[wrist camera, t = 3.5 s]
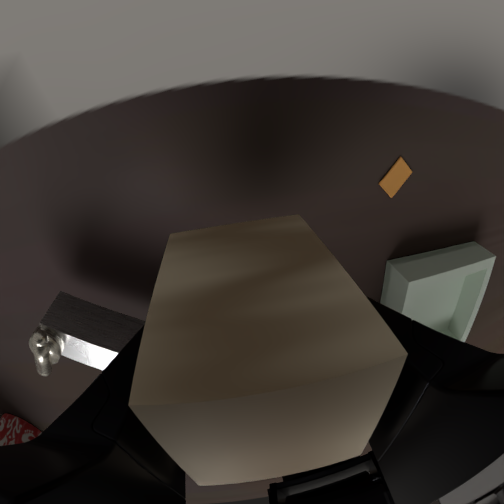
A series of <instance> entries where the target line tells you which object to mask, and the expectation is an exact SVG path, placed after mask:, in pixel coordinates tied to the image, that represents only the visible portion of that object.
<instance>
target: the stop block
mask: <svg viewBox="0 0 504 504" xmlns="http://www.w3.org/2000/svg"><path fill="white" fill-rule="evenodd" d="M407 355H408V353H407V352H406V350H405V349H404V347H403V346H402V345H401V343H400V342H399V340H398V339H397V338H396V336H395V335H394V334H393V332H392V331H391V329H390V328H389V327H388V325H387V324H386V323H385V321H384V320H383V319H382V317H381V316H380V315H379V313H378V312H377V311H376V309H375V308H374V307H373V305H372V304H371V303H370V301H369V300H368V299H367V297H366V296H365V295H364V293H363V292H362V291H361V290H360V288H359V287H358V286H357V284H356V283H355V282H354V281H353V279H352V278H351V277H350V276H349V274H348V273H347V272H346V271H345V269H344V268H343V267H342V266H341V264H340V263H339V262H338V261H337V259H336V258H335V257H334V256H333V254H332V253H331V252H330V251H329V250H328V248H327V247H326V246H325V245H324V244H323V242H322V241H321V240H320V239H319V238H318V236H317V235H316V234H315V233H314V232H313V230H312V229H311V228H310V227H309V226H308V225H307V223H306V222H305V221H304V220H303V219H302V218H301V216H300V215H299V214H298V215H290V216H283V217H276V218H269V219H262V220H255V221H248V222H241V223H235V224H228V225H221V226H215V227H209V228H202V229H196V230H190V231H184V232H178V233H172V234H170V236H169V239H168V243H167V246H166V249H165V252H164V256H163V259H162V262H161V266H160V269H159V273H158V276H157V280H156V284H155V287H154V291H153V295H152V298H151V302H150V306H149V310H148V314H147V318H146V322H145V326H144V331H143V335H142V339H141V344H140V348H139V353H138V357H137V362H136V367H135V372H134V377H133V382H132V388H131V393H130V399H129V404H128V406H129V407H130V408H131V410H132V411H133V412H134V414H135V415H136V416H137V417H138V419H139V420H140V421H141V423H142V424H143V425H144V426H145V428H146V429H147V430H148V431H149V432H150V434H151V435H152V436H153V437H154V438H155V440H156V441H157V442H158V443H159V444H160V445H161V447H162V448H163V449H164V450H165V451H166V452H167V453H168V454H169V455H170V457H171V458H172V459H173V460H174V461H175V462H176V463H177V464H178V465H179V466H180V467H181V468H182V469H183V470H184V471H185V472H186V473H187V474H188V475H189V476H190V477H191V478H192V479H193V480H194V481H195V482H196V483H197V484H198V485H199V486H205V485H221V484H232V483H242V482H250V481H257V480H263V479H270V478H275V477H281V476H286V475H291V474H295V473H300V472H304V471H308V470H312V469H316V468H320V467H324V466H327V465H331V464H334V463H338V462H341V461H344V460H347V459H350V458H353V457H356V456H359V455H361V453H362V451H363V450H364V448H365V446H366V444H367V443H368V441H369V439H370V437H371V435H372V433H373V431H374V430H375V428H376V426H377V424H378V422H379V420H380V418H381V416H382V414H383V412H384V409H385V407H386V405H387V403H388V401H389V399H390V396H391V394H392V392H393V390H394V387H395V385H396V383H397V380H398V378H399V375H400V373H401V370H402V368H403V365H404V363H405V360H406V357H407Z"/></svg>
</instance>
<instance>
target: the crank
mask: <svg viewBox="0 0 504 504" xmlns="http://www.w3.org/2000/svg"><path fill="white" fill-rule="evenodd" d="M145 322H146V321H144V320H141V319H138V318H134V317H131V316H128V315H125V314H122V313H119V312H116V311H113V310H110V309H107V308H105V307H102V306H99V305H96V304H93V303H91V302H88V301H85V300H83V299H80V298H77V297H75V296H72V295H70V294H67V293H65V292H62V291H60V292H59V294H58V295H57V297H56V298H55V300H54V301H53V303H52V304H51V306H50V307H49V309H48V310H47V312H46V314H45V315H44V317H43V318H42V320H41V322H40V326H38V327H37V328H36V330H35V331H34V332H33V334H32V337H31V338H30V340H29V347H30V349H31V351H32V352H33V353H34V358H35V364H36V369H37V371H38V373H39V374H40V375H42V376H48V375H50V373H51V371H52V367H51V364H55V363H57V362H58V360H59V358H60V356H61V355H63V356H65V357H68V358H70V359H73V360H75V361H78V362H81V363H83V364H86V365H89V366H92V367H95V368H97V369H100V370H104V369H105V368H106V367H107V366H108V364H109V363H110V362H111V361H112V360H113V359H114V358H115V357H116V355H117V354H118V353H119V352H120V351H121V350H122V349H123V348H124V346H125V345H126V344H127V343H128V342H129V341H130V340H131V339H132V338H133V336H134V335H135V334H136V333H137V332H138V331H139V330H140V329H141V328H142V326H143V325H144V324H145Z"/></svg>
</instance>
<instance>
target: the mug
mask: <svg viewBox="0 0 504 504" xmlns="http://www.w3.org/2000/svg"><path fill="white" fill-rule="evenodd" d="M41 433H42V432H41V431H40V430H39V429H37V428H36V427H34V426H33V425H31V424H30V423H28V422H27V421H25V420H23V419H21V418H19V417H17V416H14V415H12V414H7V413H5V414H3V415H2V417H1V419H0V446H4V445H12V444H19V443H24V442H27V441H30V440H32V439H34V438H36V437H37V436H39V435H40V434H41Z"/></svg>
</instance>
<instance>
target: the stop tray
mask: <svg viewBox="0 0 504 504" xmlns="http://www.w3.org/2000/svg"><path fill="white" fill-rule="evenodd" d="M495 258H496V256H495V255H494V254H492V253H491V252H489V251H488V250H486V249H485V248H484V247H482V246H481V245H479V244H478V243H476V242H475V241H472V242H468V243H464V244H460V245H455V246H451V247H447V248H442V249H438V250H434V251H429V252H425V253H420V254H416V255H411V256H406V257H402V258H397V259H392V260H387V262H386V270H385V276H384V283H383V289H382V295H381V301H380V303H381V304H383V305H385V306H387V307H389V308H391V309H393V310H395V311H397V312H399V313H401V314H403V315H405V316H407V317H409V318H411V319H412V320H415V321H417V322H419V323H421V324H423V325H425V326H427V327H430V328H432V329H434V330H436V331H438V332H440V333H443V334H445V335H448V336H450V337H452V338H455V339H457V340H460V341H462V342H465V340H466V338H467V336H468V334H469V331H470V329H471V327H472V324H473V322H474V320H475V317H476V315H477V312H478V309H479V307H480V304H481V301H482V299H483V296H484V293H485V290H486V287H487V284H488V281H489V278H490V275H491V272H492V268H493V265H494V261H495Z"/></svg>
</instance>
